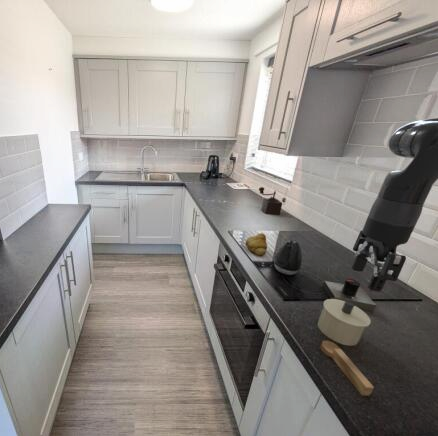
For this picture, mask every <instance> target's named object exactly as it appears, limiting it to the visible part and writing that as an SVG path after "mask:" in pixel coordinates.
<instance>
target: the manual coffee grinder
mask: <svg viewBox="0 0 438 436" xmlns="http://www.w3.org/2000/svg"><path fill="white" fill-rule="evenodd" d="M258 191H259V194H261V196H271V197H268V198H265V197H264V198H263V200H262V204H261V208H260V210H261V212H262V213H263V214H265V215H271V216H272V215H273V216H280V214H281V211H282V206H283V202H282V201H281V200H279V199H278V198H276V194H277V191H276V190H274V191H273V193H265V187H263V186H260V187H259V188H258Z"/></svg>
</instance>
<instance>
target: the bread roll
mask: <svg viewBox="0 0 438 436" xmlns="http://www.w3.org/2000/svg"><path fill="white" fill-rule="evenodd" d="M245 245H246V247H247V249H248V250H249V251H250V252H253V253H254V254H255V255H258V256H264V255H266V253H267V250H268V243H267V236H266V235H265V234H264V233H257V234H255V235H253V236H249V237H247V239H246V240H245Z"/></svg>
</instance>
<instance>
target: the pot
mask: <svg viewBox="0 0 438 436" xmlns="http://www.w3.org/2000/svg"><path fill="white" fill-rule="evenodd" d="M316 324H317V327H318V329H319V330H320V332H321V333H322V334H323V335H324V336H325V337H327V338H328V339H330V340H331V341H334V343H337V344H340V345H342V346H347V347H348V346H350V347H353V346H357V345H358V344H359V342H360V341H361V340H362V337H363V335H364V333H365V331H366V329H367V327H365V328H359V327H354V326H350V325H347V324H345V323H343V322H340V321H339V320H337V319H335V318H334V317H332V316H331V315H330V314H329V313H328V312H327V311H326V310H325V309H324V306H322V309H321V312H320V315H319V317H318V319H317V323H316Z"/></svg>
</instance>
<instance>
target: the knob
mask: <svg viewBox="0 0 438 436" xmlns="http://www.w3.org/2000/svg"><path fill="white" fill-rule="evenodd" d="M343 284H344V286H343V288H342V291H343V292H344V293H346V294H348V295H352V296H354V295H356V293H357V291H358V289H359V287H360V286H361V283H360V282H359V281H357V280H356V279H354V278H353V279H352V278H346V279H345V280H344V282H343Z"/></svg>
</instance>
